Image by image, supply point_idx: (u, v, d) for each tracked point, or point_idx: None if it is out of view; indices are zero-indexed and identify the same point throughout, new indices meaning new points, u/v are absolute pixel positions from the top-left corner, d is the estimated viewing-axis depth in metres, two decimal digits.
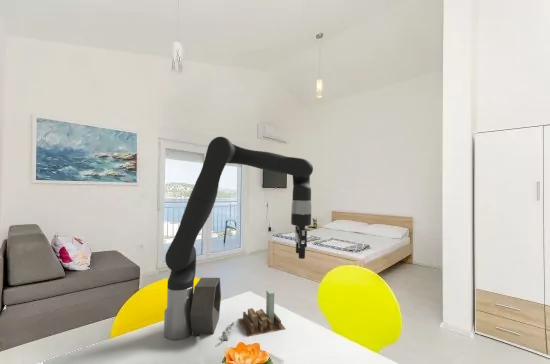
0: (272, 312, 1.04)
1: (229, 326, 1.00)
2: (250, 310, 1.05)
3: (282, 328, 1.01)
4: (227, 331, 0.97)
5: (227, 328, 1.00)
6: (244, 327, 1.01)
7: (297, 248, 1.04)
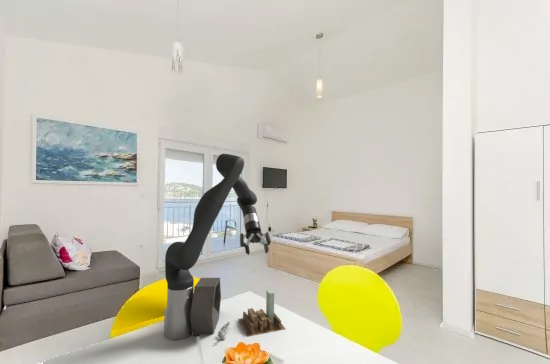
0: (272, 312, 1.04)
1: (225, 326, 1.00)
2: (250, 310, 1.05)
3: (282, 328, 1.01)
4: (223, 331, 0.97)
5: (223, 328, 1.00)
6: (244, 327, 1.01)
7: (248, 249, 1.21)
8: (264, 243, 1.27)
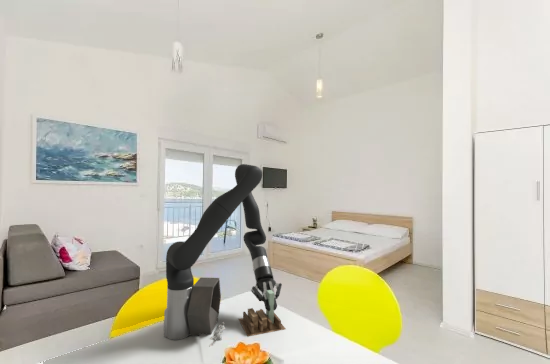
0: (272, 312, 1.04)
1: (220, 326, 1.00)
2: (250, 310, 1.05)
3: (282, 328, 1.01)
4: (218, 331, 0.97)
5: (218, 328, 1.00)
6: (244, 327, 1.01)
7: None
8: None
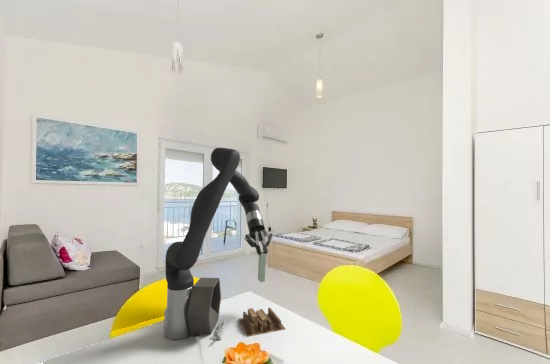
0: (263, 271, 1.15)
1: (220, 326, 1.00)
2: (250, 310, 1.05)
3: (282, 328, 1.01)
4: (218, 331, 0.97)
5: (218, 328, 1.00)
6: (244, 327, 1.01)
7: None
8: None
